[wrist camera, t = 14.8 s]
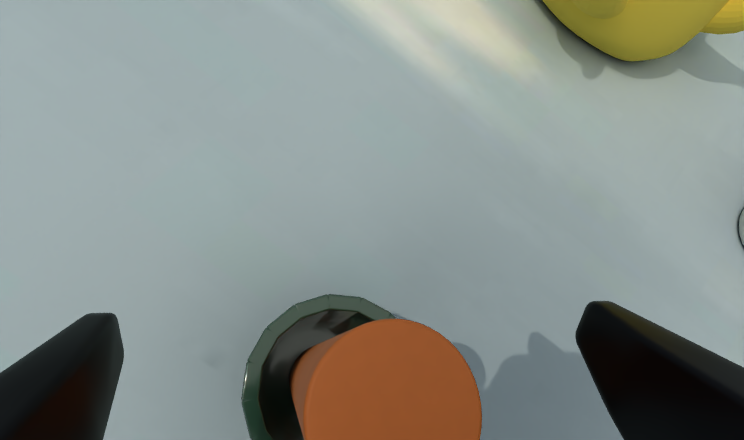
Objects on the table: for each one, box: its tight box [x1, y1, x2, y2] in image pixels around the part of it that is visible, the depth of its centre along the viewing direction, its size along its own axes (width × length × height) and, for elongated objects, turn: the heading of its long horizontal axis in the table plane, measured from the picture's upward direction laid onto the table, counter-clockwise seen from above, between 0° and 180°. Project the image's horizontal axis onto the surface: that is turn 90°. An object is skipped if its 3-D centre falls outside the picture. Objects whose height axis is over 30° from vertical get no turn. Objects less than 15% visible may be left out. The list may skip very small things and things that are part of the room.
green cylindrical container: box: [241, 294, 396, 440], centre depth 16 cm, size 6×6×6 cm
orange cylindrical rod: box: [289, 319, 482, 440], centre depth 13 cm, size 3×3×12 cm
